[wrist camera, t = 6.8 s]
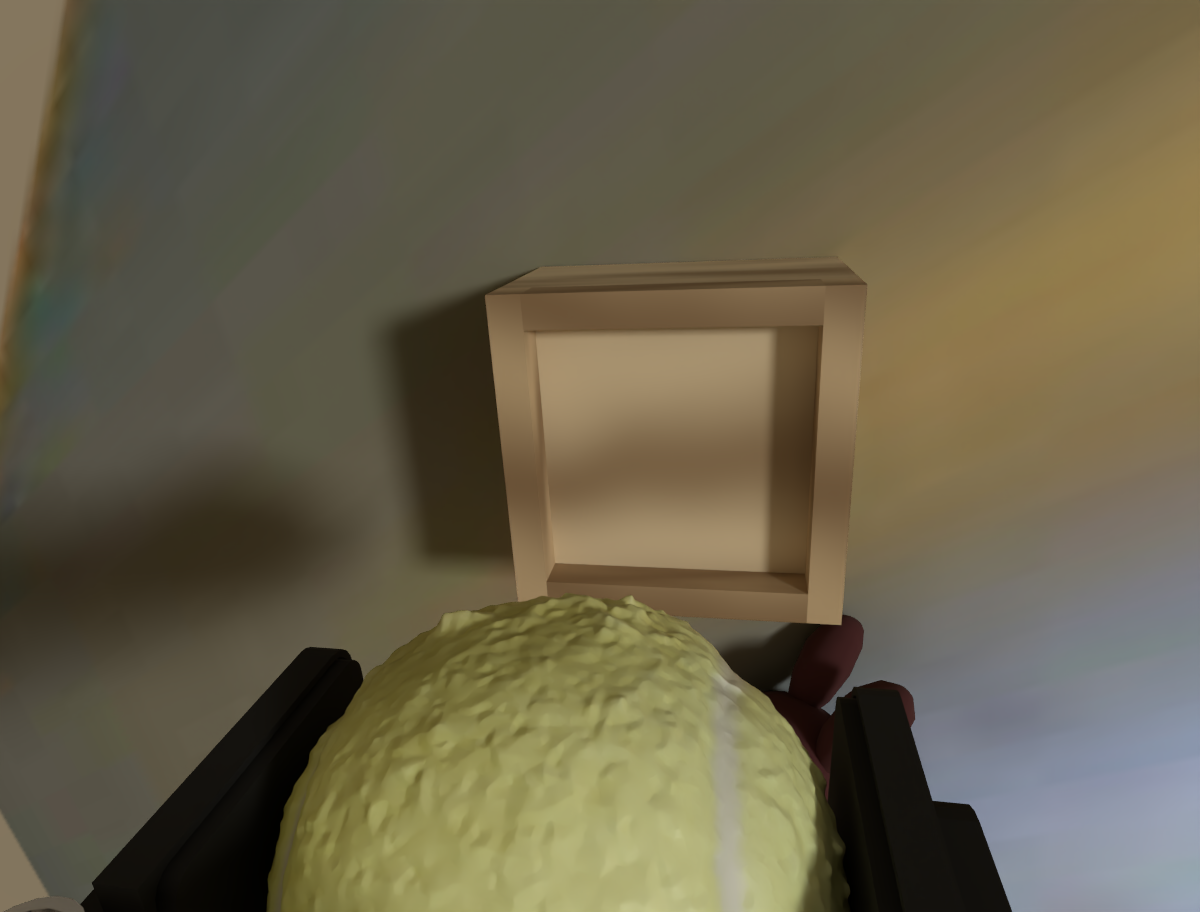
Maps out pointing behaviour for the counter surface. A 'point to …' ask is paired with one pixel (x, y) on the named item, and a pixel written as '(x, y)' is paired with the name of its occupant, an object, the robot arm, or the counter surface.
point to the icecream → (825, 688)
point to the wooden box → (682, 432)
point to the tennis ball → (559, 777)
